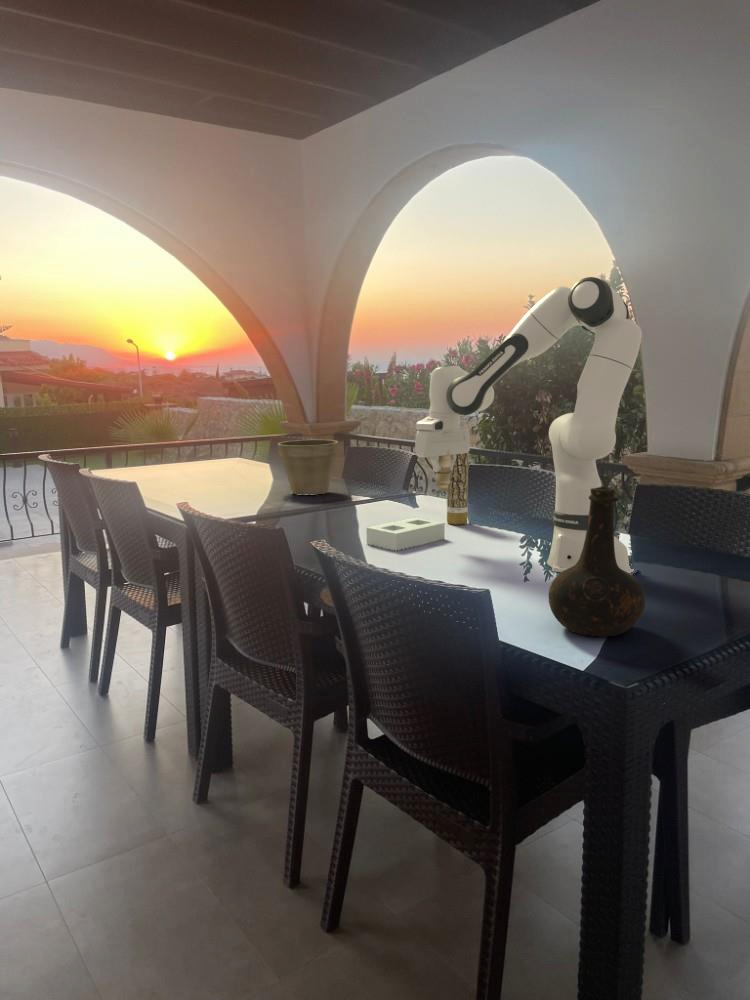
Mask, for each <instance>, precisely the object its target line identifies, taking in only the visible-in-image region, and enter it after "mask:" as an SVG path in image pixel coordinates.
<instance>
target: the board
mask: <svg viewBox="0 0 750 1000" xmlns="http://www.w3.org/2000/svg"><path fill="white" fill-rule="evenodd" d="M445 526H446V525H445V522H442V521H438V520H431V519H425V518H420V517H410V518H407V519H402V520H398V521H397V520H396V521H392V522H386V523H381V524H378V525H376V524H375V525H373V526H367V527H366V545H368V544H369V546H372V545H374V547H377V546H378V548H381V547H382V548H381V549H385V548H386V549H385V550H389V549H390V550H391V551H394V550H395V551H394V552H398V551H402V550H406V549H410V548H414V547H417V546H421V545H425V544H430V543H433V542H438V541H443V540H445V538H446V537H445V536H446V535H445V534H446V533H445ZM413 546H414V547H413ZM409 547H410V548H409ZM405 548H406V549H405ZM401 549H402V550H401ZM397 550H398V551H397Z"/></svg>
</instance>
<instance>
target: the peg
mask: <svg viewBox="0 0 750 1000" xmlns="http://www.w3.org/2000/svg"><path fill="white" fill-rule="evenodd" d="M437 461H438V464H439V465H440V466H441V471H440V472H435V484H436V485H437V487H436V490H437V491H438V492H439V491H440V492H447V491H448V484H450V449H447V453H446V455H444V456H439V460H437Z"/></svg>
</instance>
